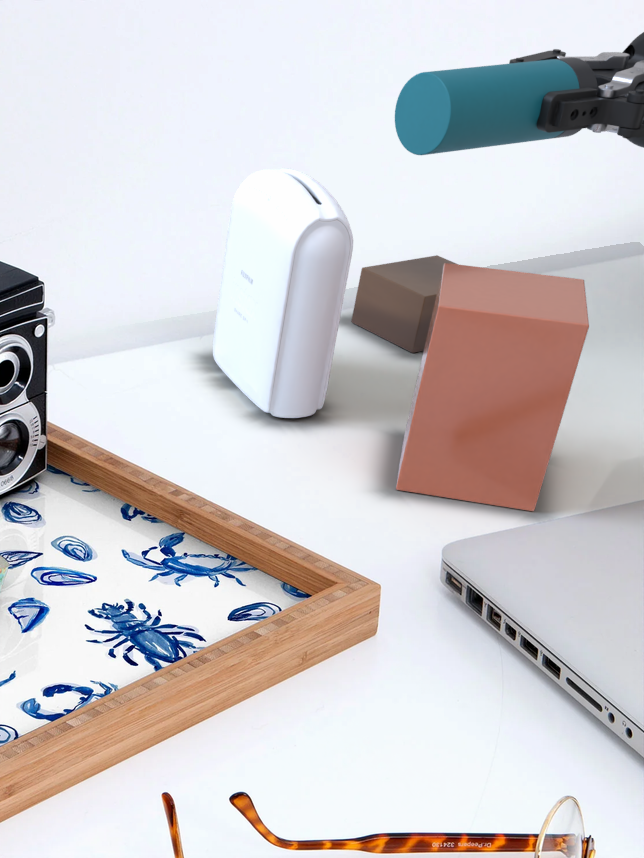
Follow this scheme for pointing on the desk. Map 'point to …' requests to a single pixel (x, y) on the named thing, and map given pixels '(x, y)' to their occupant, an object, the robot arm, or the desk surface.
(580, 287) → the plinth
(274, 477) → the desk surface
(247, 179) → the photo printer
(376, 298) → the block
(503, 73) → the bottle
